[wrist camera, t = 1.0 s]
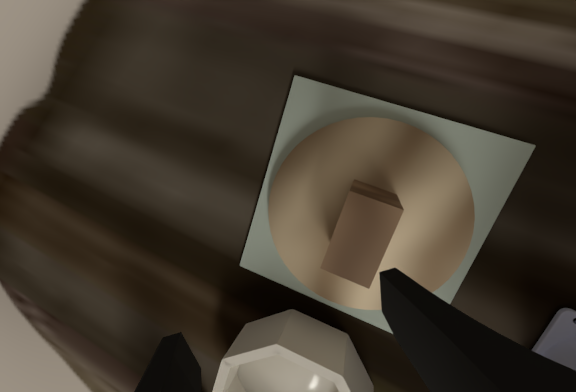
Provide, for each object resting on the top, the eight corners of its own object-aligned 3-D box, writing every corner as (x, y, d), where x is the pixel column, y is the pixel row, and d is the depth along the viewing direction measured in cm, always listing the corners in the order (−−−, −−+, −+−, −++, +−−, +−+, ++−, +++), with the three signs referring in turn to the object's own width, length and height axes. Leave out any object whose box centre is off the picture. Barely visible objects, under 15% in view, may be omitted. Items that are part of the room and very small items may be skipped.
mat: (532, 145, 18) (535, 145, 18) (425, 344, 22) (425, 348, 22) (295, 76, 21) (294, 74, 21) (241, 263, 26) (239, 265, 25)
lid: (510, 155, 18) (565, 163, 13) (418, 332, 22) (432, 392, 17) (303, 93, 21) (281, 78, 16) (252, 260, 25) (221, 292, 20)
